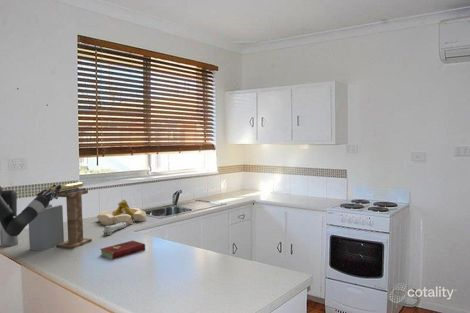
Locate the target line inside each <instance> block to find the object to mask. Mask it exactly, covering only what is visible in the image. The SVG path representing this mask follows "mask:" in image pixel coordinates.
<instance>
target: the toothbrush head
mask: <svg viewBox="0 0 470 313" xmlns="http://www.w3.org/2000/svg"><path fill="white" fill-rule="evenodd" d="M127 226H128V225H127V223H126V222H120V223H118V224H116V223H114V224H113V225H108V226H107V225H104V230H102V232H103V236H111V235H112V232H113V231H116V230H120V229H124V228H126V227H127Z"/></svg>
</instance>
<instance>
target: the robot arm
mask: <svg viewBox="0 0 470 313" xmlns="http://www.w3.org/2000/svg"><path fill="white" fill-rule="evenodd" d="M55 186H57V187H56V188H55V189H54V190H53V191H49V188H45V189H44V190H42V191H39V192H38V193H37V194H36V196H35V198H33V200H32V201H31V202H29V203H28V205H27V206H26V207H25V208H24V209H23V210H22V211H21V212H20V213H17V212H18V209H17V208H18V207H17V206H18V204H17V203H18V197H17V196H18V195H17V192H16V191H15V190H14V189H8V190H7V189H6V190H5V189H4V190H3V187H2V186H1V185H0V248H3V247H5V248H6V247H7V248H8V247H12V246H17V245H18V244H19V235H21V233H22V231H23V230H24V229H25V228H26V227H27V226H29V222H31V221H32V220H33V219H34V218H35V217H36V216H38V215H39V214H40V213H41V212H42V211H43V210H44V209H45V208H46V207H47V206H48V205H49V204H50V202H51V201H52V200H58V198H60V197H59V194H60V192H59V190H60V189H61V184H58V185H56V184H53V185H52V186H51V187H55Z"/></svg>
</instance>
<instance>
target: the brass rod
mask: <svg viewBox="0 0 470 313" xmlns="http://www.w3.org/2000/svg"><path fill="white" fill-rule="evenodd" d="M60 185H61V184H60ZM57 186H58V185H56V186H55V187H52V186H50V187H49V188H48V189H49V191H53V190H54V189H55V188H56V187H57ZM83 186H84V183H83V181H78V182H72V183H67V184H62V185H61V189H60V190H59V191H64V190H69V189H74V188H83Z"/></svg>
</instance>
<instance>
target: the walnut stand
mask: <svg viewBox="0 0 470 313" xmlns="http://www.w3.org/2000/svg"><path fill="white" fill-rule="evenodd" d="M59 192H60V194H59V197H58V198H65V201H66V217H67V218H66V220H67V223H66V224H67V240H64V242H63V243H60V244H57V246H56V248H62V249H72V250H74V249H76V248H79V247H81V246H84V245H86V244H88V243H91V242H93V239H92V238H85V237H84V225H83V220H84V219H83V201H82V200H83V199H82V198H83V197H82V196H83V195H86V194H89V190H88V189H86V187H81V188H80V187H77V188H72V189H67V190H62V191H59Z"/></svg>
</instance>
